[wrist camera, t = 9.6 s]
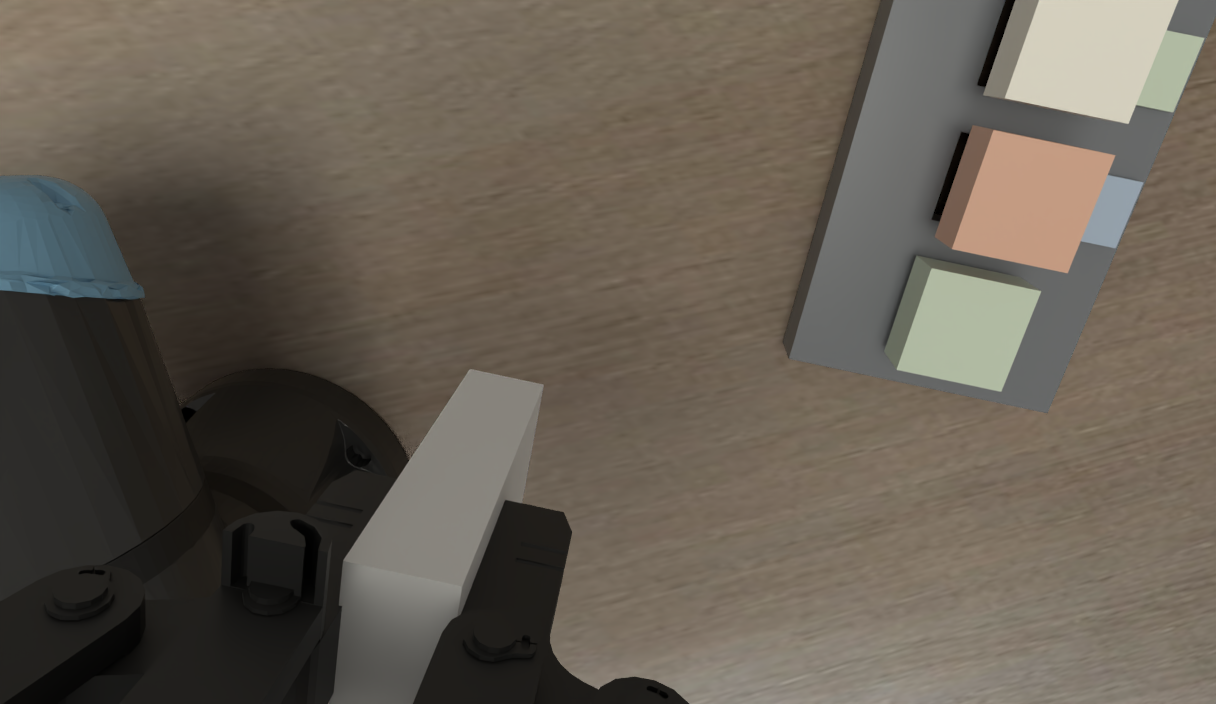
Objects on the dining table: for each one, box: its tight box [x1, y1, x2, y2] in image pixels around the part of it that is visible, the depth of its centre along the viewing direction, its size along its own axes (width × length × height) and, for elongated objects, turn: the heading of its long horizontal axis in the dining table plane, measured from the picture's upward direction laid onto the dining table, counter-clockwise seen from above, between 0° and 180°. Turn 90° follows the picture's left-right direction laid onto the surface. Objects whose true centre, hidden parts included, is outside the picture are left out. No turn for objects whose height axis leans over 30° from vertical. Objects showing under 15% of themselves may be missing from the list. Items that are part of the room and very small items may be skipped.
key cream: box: [983, 0, 1179, 124], centre depth 33 cm, size 5×5×5 cm
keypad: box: [783, 0, 1216, 413], centre depth 37 cm, size 26×13×3 cm, turn 169°
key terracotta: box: [935, 125, 1115, 273], centre depth 35 cm, size 5×5×5 cm
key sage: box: [884, 255, 1041, 392], centre depth 38 cm, size 5×5×5 cm
